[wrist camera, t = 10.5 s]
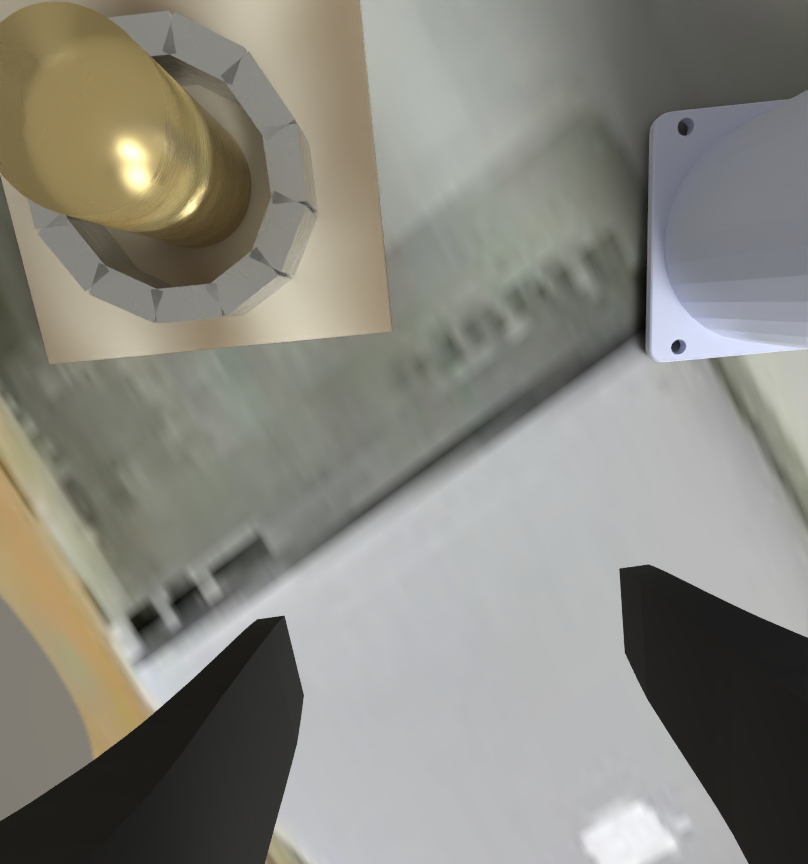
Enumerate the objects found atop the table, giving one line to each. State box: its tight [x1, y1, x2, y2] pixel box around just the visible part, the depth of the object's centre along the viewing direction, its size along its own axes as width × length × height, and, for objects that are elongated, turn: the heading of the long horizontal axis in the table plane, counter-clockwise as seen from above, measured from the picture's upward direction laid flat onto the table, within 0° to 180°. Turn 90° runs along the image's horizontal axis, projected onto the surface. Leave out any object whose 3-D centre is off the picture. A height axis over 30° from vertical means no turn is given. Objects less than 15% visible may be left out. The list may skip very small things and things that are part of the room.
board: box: [0, 0, 392, 364], centre depth 16 cm, size 12×20×1 cm, turn 5°
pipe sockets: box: [27, 11, 318, 324], centre depth 15 cm, size 8×15×2 cm, turn 5°
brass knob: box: [0, 1, 251, 248], centre depth 14 cm, size 4×4×6 cm
